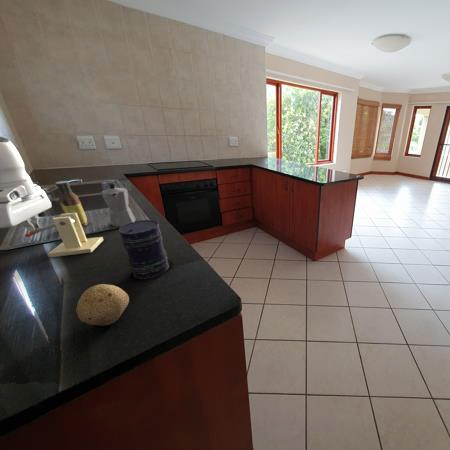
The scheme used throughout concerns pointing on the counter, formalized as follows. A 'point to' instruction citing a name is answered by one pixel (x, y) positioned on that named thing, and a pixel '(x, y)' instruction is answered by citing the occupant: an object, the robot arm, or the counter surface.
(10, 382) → the counter surface
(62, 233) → the bracket
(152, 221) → the storage jar
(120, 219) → the coffeepot
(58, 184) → the sauce bottle
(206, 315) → the counter surface
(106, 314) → the potato
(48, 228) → the lever
